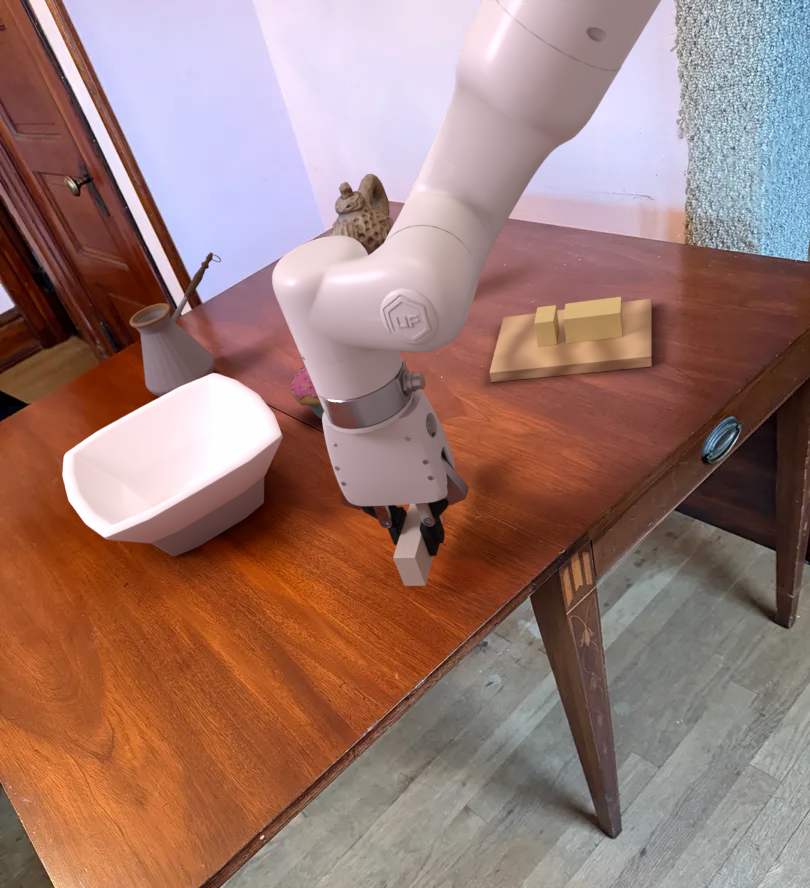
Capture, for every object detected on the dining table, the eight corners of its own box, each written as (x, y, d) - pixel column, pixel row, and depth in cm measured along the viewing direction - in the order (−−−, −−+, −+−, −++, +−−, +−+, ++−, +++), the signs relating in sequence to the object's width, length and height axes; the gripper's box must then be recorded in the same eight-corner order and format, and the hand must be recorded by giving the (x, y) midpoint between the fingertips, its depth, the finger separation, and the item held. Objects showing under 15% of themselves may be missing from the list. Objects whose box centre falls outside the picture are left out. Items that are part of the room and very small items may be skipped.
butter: (623, 320, 97) (621, 296, 95) (622, 337, 95) (620, 312, 92) (568, 327, 100) (565, 303, 97) (566, 343, 97) (563, 319, 95)
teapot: (379, 294, 126) (351, 205, 116) (320, 299, 130) (289, 214, 120) (420, 236, 139) (398, 151, 129) (365, 242, 144) (340, 161, 134)
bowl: (329, 498, 89) (299, 429, 82) (140, 614, 83) (91, 550, 76) (252, 423, 106) (222, 361, 99) (91, 515, 100) (47, 456, 93)
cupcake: (374, 399, 102) (347, 321, 94) (331, 435, 99) (299, 356, 91) (333, 386, 108) (304, 311, 100) (291, 420, 104) (257, 345, 96)
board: (651, 308, 100) (651, 298, 99) (651, 366, 91) (651, 356, 90) (505, 326, 107) (503, 317, 106) (491, 382, 98) (489, 372, 97)
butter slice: (559, 328, 100) (556, 304, 98) (556, 344, 97) (553, 320, 95) (540, 330, 101) (537, 307, 99) (537, 346, 98) (534, 323, 96)
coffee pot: (185, 412, 114) (136, 324, 104) (140, 402, 120) (90, 318, 110) (274, 337, 124) (238, 251, 114) (229, 331, 131) (190, 249, 121)
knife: (426, 585, 71) (414, 557, 69) (404, 586, 72) (392, 557, 70) (459, 458, 84) (451, 430, 81) (441, 460, 85) (432, 432, 82)
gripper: (465, 356, 62) (506, 516, 74) (294, 377, 67) (358, 523, 80) (449, 410, 57) (495, 572, 69) (266, 429, 62) (339, 576, 75)
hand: (421, 545), depth 74 cm, fingers closed on knife, 2 cm apart
